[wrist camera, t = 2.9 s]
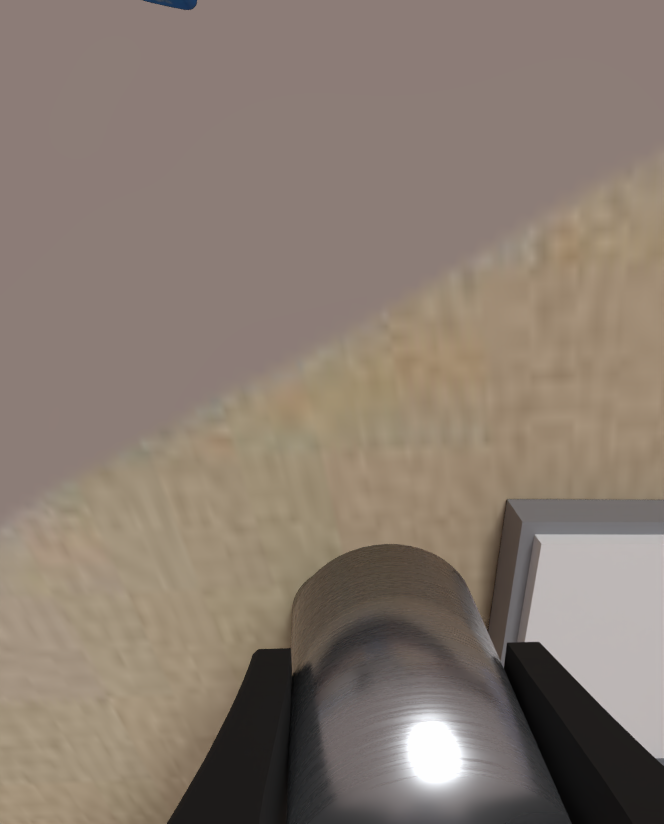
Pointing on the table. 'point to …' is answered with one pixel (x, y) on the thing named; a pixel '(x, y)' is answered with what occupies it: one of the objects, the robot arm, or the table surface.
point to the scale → (590, 600)
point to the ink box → (176, 3)
